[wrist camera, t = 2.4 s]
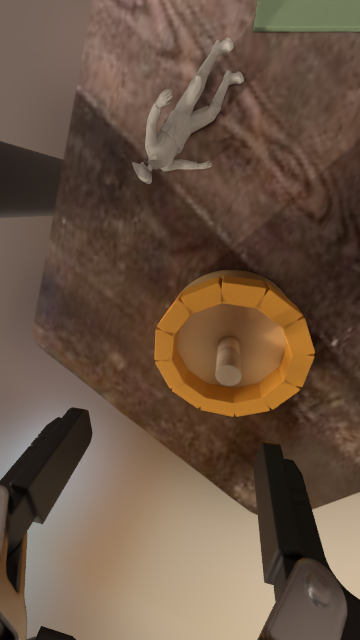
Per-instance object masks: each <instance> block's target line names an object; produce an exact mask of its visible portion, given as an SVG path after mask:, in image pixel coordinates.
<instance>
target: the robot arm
mask: <svg viewBox="0 0 360 640" xmlns="http://www.w3.org/2000/svg"><path fill="white" fill-rule="evenodd" d="M91 438H92V428H91V422H90V417H89V412H88V410H85V409H79V408H70V409H69V410H68V411H67V412H66V414H65V415H64V416H63V417H62V418H59V417H58V418H56V419H55V420H53V421H52V422H51V423H49V424H48V425H46V427H45V428H44V429H43V430H42V431H41V433H40V434H39V435H38V437H37V438H36V439H35V440H34V441H33V442H32V443H31V446H30V447H28V448H27V450H26V451H25V452H24V453H23V454H22V455H21V457H20V458H19V459H18V460H17V461H16V463H15V464H14V465H13V466H12V467H11V469H10V470H9V471H8V472H7V473H6V475H5V476H4V477H3V478H2V479H1V480H0V640H76V639H75V638H73V636H70V635H67V634H64V633H61V632H58V631H55V630H52V629H48V628H46V627H43V626H41V628H40V630H39V632H38V634H37V637H32V638H29V639H27V613H26V606H25V599H24V587H25V569H26V550H27V530H28V529H29V527H30V526H31V524H32V522H36V523H41V524H43V523H44V521H45V519H46V518H47V516H48V514H49V513H50V511H51V509H52V507H53V506H54V504H55V502H56V501H57V499H58V497H59V495H60V494H61V492H62V490H63V489H64V487H65V485H66V484H67V482H68V480H69V478H70V476H71V475H72V473H73V472H74V470H75V468H76V467H77V465H78V463H79V461H80V460H81V458H82V456H83V455H84V453H85V451H86V449H87V447H88V446H89V444H90V442H91ZM254 481H255V491H256V502H257V512H258V522H259V532H260V542H261V552H262V563H263V573H264V582H265V583H268V584H272V585H274V593H275V601H276V603H275V605H274V607H273V609H272V611H271V613H270V615H269V617H268V619H267V621H266V623H265V625H264V627H263V629H262V631H261V633H260V635H259V637H258V639H257V640H360V599H358V598H357V597H355V596H354V595H352V594H351V593H350V592H349V591H348V590H346V589H345V588H344V587H343V585H342V584H341V583H340V582H339V581H338V580H337V578H336V577H335V575H334V574H333V572H332V571H331V569H330V567H329V565H328V563H327V561H326V558H325V555H324V551H323V548H322V544H321V541H320V537H319V533H318V530H317V526H316V523H315V519H314V515H313V512H312V508H311V505H310V501H309V498H308V494H307V492H306V487H305V483H304V480H303V476H302V473H301V472H300V470H299V469H298V467H297V466H296V464H295V463H294V461H293V460H288V459H283V454H282V450H281V446H280V444H279V443H273V442H267V441H260V444H259V448H258V452H257V456H256V460H255V465H254Z"/></svg>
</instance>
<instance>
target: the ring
mask: <svg viewBox="0 0 360 640" xmlns="http://www.w3.org/2000/svg"><path fill="white" fill-rule="evenodd" d="M222 303H225V304H232V305H239V306H245V307H252V308H257V309H259V310H260V311H261V312H262V313H264V314H265V315H266V316H268V317H269V318H270V319H272V320H273V321H274V322H275V323H277V324H278V325H279V326H281V327H282V330H283V333H284V336H285V339H286V342H287V344H286V347H285V350H284V353H283V356H282V359H281V362H280V365H279V367H278V368H276V369H275V370H274V371H273V372H272V373H270V374H269V375H268V376H267V377H265V378H264V379H263V380H262V381H260V382H259V383H256V384H251V385H247V386H242V387H238V388H228V387H223V386H218V385H213V384H208V383H206V382H205V381H203V380H202V379H200V378H199V377H198V376H196V375H195V374H193V373H192V372H190V371H189V370H188V369H187V368H186V366H185V364H184V362H183V360H182V358H181V356H180V354H179V352H178V350H177V341H178V330H179V329H180V328H181V327H182V326H183V324H184V323H185V322H186V321H187V320H188V318H189V317H190V316H191V315H192V314H193V313H196V312H199V311H202V310H205V309H207V308H210V307H213V306H216V305H219V304H222ZM313 353H315V351H314V347H313V344H312V340H311V337H310V334H309V330H308V327H307V323H306V320H305V318H304V316H303V315H302V313H301V312H300V310H299V309H298V308H297V306H296V305H295V304H294V303H293V302H291V301H290V300H289V299H287V298H286V297H285V296H284V295H282V294H281V293H280V292H279V291H277V290H276V289H275V288H273V287H272V286H271V285H270V284H268V283H267V282H266V283H265V284H264V283H263V281H262V280H255V279H248V278H240V277H233V276H225V275H223V279H222V281H221V278H220V276H217V277H215V278H212V279H210V280H207V281H205V282H202V283H200V284H197V285H194V286H192V287H189V288H187V289H185V291H184V292H181V294H180V295H179V296H178V298H177V299H176V300H175V301H174V303H173V304H172V305H171V307H170V308H169V309H168V311H167V312H166V313H165V315H164V316H163V318H162V319H161V321H160V322H159V324H158V326H157V329H156V339H155V360H156V362H155V363H156V365H157V366H158V368H159V370H160V372H161V374H162V375H163V377H164V379H165V381H166V383H167V384H168V386H169V388H173V389H172V391H173V392H175V393H176V394H177V395H179V396H180V397H182V398H183V399H185V400H186V401H188V402H189V403H191V404H192V405H193V406H195V407H196V408H199V407H200V406H201V410H204V411H208V412H213V413H218V414H223V415H227V416H232V417H233V416H234V412H235V415H236V416H237V417H238V416H243V415H249V414H254V413H260V412H266V411H270V408H272V409H274V408H276V407H277V406H279V405H280V404H281V403H283V402H284V401H286V400H287V399H288V398H290V397H291V396H292V395H294V394H295V393H297V392H298V391H299V390H300V388H299V387H303V384H304V382H305V379H306V377H307V374H308V372H309V369H310V367H311V364H312V362H313V359H314V354H313ZM269 407H270V408H269Z"/></svg>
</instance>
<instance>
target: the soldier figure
mask: <svg viewBox="0 0 360 640" xmlns="http://www.w3.org/2000/svg"><path fill="white" fill-rule="evenodd" d="M232 49H233V43H232V40H231V39H230V38H226V39H225V40H224V41H223V42H221V41H220V40H217V41H216V43H215V44H214V46H213V49H212V51H211V53H210V54H209V56H208V57H207V58H206V60H205V61H204V63H203V64H202V65H201V67H200V69H199V71H198V73H197V76H195V77H194V79H193V80H192V81H191V82H190V84H189V86H188V88H187V90H186V91H185V93H184V94H183V96H182V97H181V99H180V100H179V102H178V104H177V106H176V108H175V110H174V111H173V110H172V111H171V113H170V115H169V117H168V119H167V121H165V122H164V124H163V125H162V127H161V129H160V130H161V132H160V133H159V134H157V131H156V124H157V122H158V119H159V116H160V112H161V107H162V106H165V105H168V104H170V103H171V101H169V102H167V101H168V100H169V99H171V98H172V97H173V96H172V95H171V94H172V92H170V91H171V90H169V88H167V89H166V90H164V91H163V92H162V93H161V94H160V96H159V98H158V99H157V100H155V103H154V105H153V107H152V109H151V112H150V114H149V116H148V119H147V127H146V139H145V146H146V147H145V149H146V152H147V154H148V157H149V158H148V161H147V163H148V164H150V165H151V166H150V165H148V168H147V167H146V166H145V165H144V161H145V162H146V160H144V161H143V162H141V164H136V163H134V162H132V165H133V168H134V170H135V172H136V174H137V175H138V177H139V178H140V179H141V180H142V181H143V182H146V184H150V183H151V182H152V175H151V173H150V171H152V168H153V169H158V168H160V169H161V170H162V171H164V172H166V171H171V170H175V169H182V170H183V169H207V168H210V167H211V166H212V164H211V163H212V162H210V163H208V162H209V161H210V160H209V161H207V162H205V163H199V164H198V163H197V162H193V161H189V160H184V159H183V160H182V159H174V157H175V156H176V155H177V154H179V153H180V152H181V151H182V149H183V148H184V144H185V142H186V140H187V139H188V138H189V136H190V134H191V133H193V132H195V131H196V130H198V129H200V128H203V127H204V126H206V125H207V124H209V123H210V122H212V121H213V120H214V119H215V118H216V115H217V114H218V113H219V112H220V111H221V106H222V102H223V99H224V96H225V94H226V91H227V89H228V86H229V85H231V84H234V83H235V84H241V83H242V82H244V78H243V75H242V74H241V73H240V72H237V73H234V74H233V73H232V72H231V71H229V70H228V71H227V72H226V73H225V75H224V78H223V82H222V83H221V85H220V87H219V89H218V91H217V93H216V94H215V96H214V98H213V100H212V103H210V106H205V107H204V108H200V109H198V110H196V111H193V109H194V106H195V104H196V102H197V101H198V99H199V98H200V96H201V94H202V92H203V90H204V88H205V84H206V81H207V77H208V75H209V73H210V71H211V69H212V67H213V64H214V62H215V60H216V58H217V57H218V56H219V55H222V54H223V53H228V52H230V51H231V50H232ZM169 92H170V93H169ZM167 93H168V94H167ZM166 94H167V95H166ZM169 95H171V96H169ZM168 96H169V97H168ZM167 97H168V98H167ZM192 111H193V112H192ZM207 163H208V164H207ZM209 164H210V165H209ZM148 169H149V170H150V171H149V170H148Z"/></svg>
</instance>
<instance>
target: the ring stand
mask: <svg viewBox="0 0 360 640" xmlns="http://www.w3.org/2000/svg"><path fill="white" fill-rule="evenodd" d="M223 275H225V276H233V277H240V278H248V279H255V280H262V281H263V283H264V284H265V283H266V282H267V283H268V284H270V285H271V286H272V287H273V288H275V289H276V290H277V291H279V292H280V293H281V294H282V295H284V296H285V297H286V295H285V294H284V293H283V292H282V290H281V289H280V288H278V287H277V286H276V285H275V284H274V283H272V282H271V281H269V280H268V279H266V278H264V277H262V276H260V275H258V274H255V273H252V272H248V271H243V270H221V271H216V272H212V273H209V274H206V275H204V276H201V277H199V278H197V279H196V280H194V281H193V282H191V283H190V284H189V285H188V286H187V287H185V288H184V289H183V291H182V292H184V291H185V289H187V288H189V287H192V286H194V285H197V284H200V283H202V282H205V281H207V280H210V279H212V278H215V277H217V276H220V278H221V281H222V279H223ZM180 294H181V293H180ZM180 294H179V295H180ZM179 295H178V296H179ZM177 298H178V297H177ZM286 298H287V297H286ZM287 299H288V298H287ZM286 344H287V342H286V339H285V336H284V333H283V330H282V327H281V326H279V325H278V324H277V323H275V322H274V321H273V320H272V319H270V318H269V317H268V316H266V315H265V314H264V313H262V312H261V311H260V310H259V309H257V308H252V307H245V306H239V305H232V304H225V303H222V304H219V305H216V306H213V307H210V308H207V309H205V310H202V311H199V312H196V313H193V314H192V315H191V316H190V317H189V318H188V320H187V321H186V322H185V323H184V324H183V326H182V327H181V328H180V329H179V330H178V341H177V350H178V352H179V354H180V356H181V358H182V360H183V362H184V364H185V366H186V368H187V369H188V370H189V371H190V372H192V373H193V374H195V375H196V376H198V377H199V378H200V379H202V380H203V381H205V382H206V383H208V384H213V385H218V386H223V387H228V388H238V387H242V386H247V385H251V384H256V383H259V382H260V381H262V380H263V379H264V378H265V377H267V376H268V375H269V374H270V373H272V372H273V371H274V370H275V369H276V368H278V367H279V365H280V362H281V359H282V356H283V353H284V350H285V347H286Z"/></svg>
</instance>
